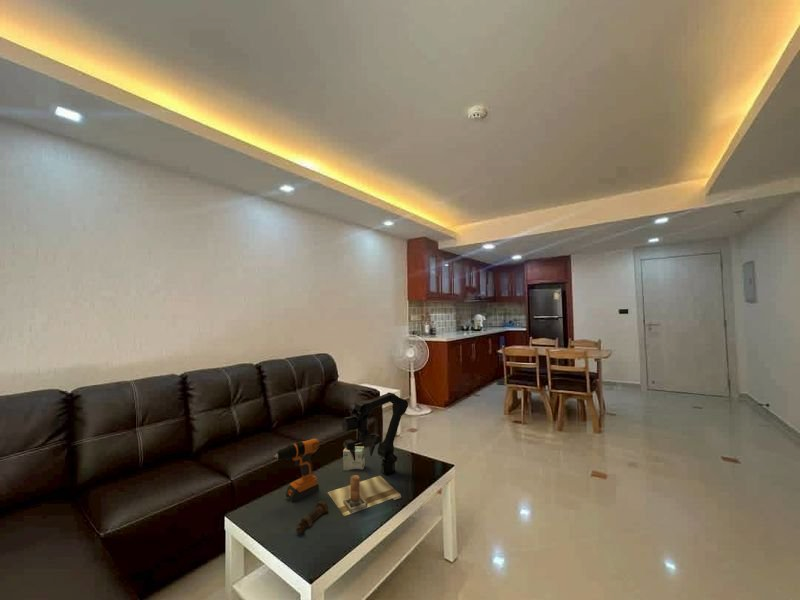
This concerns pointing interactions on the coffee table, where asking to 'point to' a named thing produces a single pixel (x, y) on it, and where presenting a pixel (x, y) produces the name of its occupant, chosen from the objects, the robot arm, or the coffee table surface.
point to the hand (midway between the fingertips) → (362, 458)
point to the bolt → (312, 516)
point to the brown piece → (355, 490)
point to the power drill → (302, 459)
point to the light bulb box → (350, 463)
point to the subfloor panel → (364, 495)
